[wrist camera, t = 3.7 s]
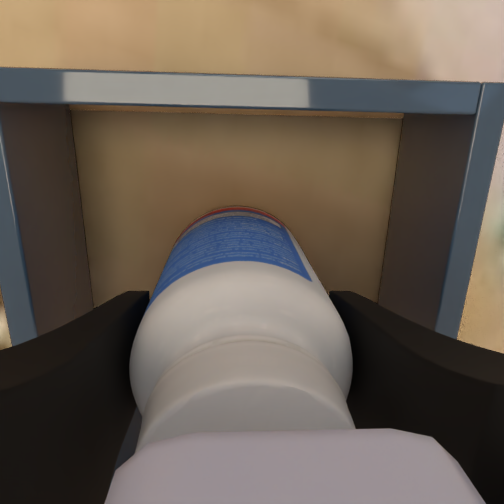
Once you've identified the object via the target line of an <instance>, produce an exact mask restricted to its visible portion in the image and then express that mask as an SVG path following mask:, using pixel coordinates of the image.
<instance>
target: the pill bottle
mask: <svg viewBox="0 0 504 504" xmlns="http://www.w3.org/2000/svg"><path fill="white" fill-rule="evenodd" d="M129 373H130V383H131V388H132V392H133V395H134V398H135V401H136V404H137V406H138V409H139V411H140V413H141V415H142V423H141V430H140V433H139V437H138V442H137V446H136V450H135V453H136V452H138V451H139V450H140V449H141V448H142V447H143V446H145V445H146V444H147V443H151V442H155V441H160V440H164V439H168V438H172V437H176V436H181V435H185V434H189V433H197V432H245V431H292V430H339V429H356V428H355V425H354V422H353V420H352V417H351V415H350V412H349V409H348V406H347V403H346V399H347V397H348V393H349V390H350V386H351V381H352V373H353V359H352V350H351V345H350V339H349V336H348V333H347V331H346V328H345V325H344V323H343V321H342V319H341V317H340V315H339V313H338V312H337V310H336V308H335V307H334V305H333V303H332V301H331V299H330V298H329V296H328V294H327V293H326V291H325V289H324V287H323V286H322V284H321V282H320V281H319V279H318V277H317V275H316V274H315V272H314V270H313V269H312V267H311V265H310V263H309V262H308V260H307V258H306V256H305V254H304V252H303V251H302V249H301V247H300V245H299V243H298V242H297V241H296V239H295V238H294V236H293V235H292V233H291V232H290V231H289V229H288V228H287V227H286V226H285V225H284V224H283V223H282V222H280V221H279V220H278V219H276V218H275V217H273V216H272V215H270V214H268V213H266V212H264V211H261V210H258V209H255V208H250V207H243V206H232V207H224V208H219V209H216V210H213V211H210V212H208V213H206V214H204V215H202V216H200V217H198V218H197V219H195V220H194V221H193V222H192V223H191V224H189V225H188V226H187V227H186V229H185V230H184V231H183V232H182V233H181V235H180V236H179V237H178V239H177V241H176V242H175V244H174V246H173V248H172V251H171V253H170V256H169V258H168V260H167V263H166V265H165V267H164V269H163V272H162V274H161V276H160V279H159V281H158V283H157V285H156V288H155V290H154V292H153V295H152V297H151V299H150V302H149V304H148V306H147V308H146V311H145V313H144V316H143V318H142V320H141V323H140V325H139V328H138V330H137V333H136V336H135V339H134V342H133V345H132V350H131V355H130V363H129Z"/></svg>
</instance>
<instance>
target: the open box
mask: <svg viewBox="0 0 504 504" xmlns="http://www.w3.org/2000/svg"><path fill="white" fill-rule="evenodd" d="M70 110H93V111H132V112H171V113H210V114H249V115H288V116H327V117H366V118H403V125H402V133H401V140H400V147H399V154H398V161H397V169H396V176H395V183H394V190H393V198H392V205H391V212H390V219H389V227H388V234H387V241H386V248H385V256H384V263H383V270H382V277H381V285H380V292H379V299H378V304H379V305H380V306H382V307H384V308H386V309H388V310H390V311H392V312H394V313H396V314H398V315H400V316H402V317H404V318H406V319H408V320H410V321H412V322H415V323H417V324H419V325H421V326H424V327H426V328H428V329H430V330H433V331H435V332H438V333H440V334H443V335H446V336H449V337H451V338H454V339H457V336H458V331H459V327H460V322H461V317H462V313H463V308H464V304H465V299H466V294H467V290H468V285H469V280H470V276H471V271H472V267H473V262H474V257H475V253H476V248H477V243H478V239H479V234H480V230H481V225H482V220H483V216H484V211H485V206H486V202H487V197H488V192H489V188H490V183H491V179H492V174H493V169H494V165H495V160H496V155H497V151H498V146H499V142H500V137H501V132H502V128H503V123H504V83H502V82H481V83H480V82H470V81H438V80H407V79H375V78H343V77H312V76H280V75H248V74H217V73H185V72H153V71H122V70H90V69H58V68H27V67H0V287H1V292H2V297H3V302H4V307H5V313H6V318H7V323H8V328H9V333H10V338H11V343H12V347H13V346H15V345H18V344H21V343H23V342H26V341H28V340H31V339H34V338H36V337H39V336H41V335H43V334H46V333H48V332H50V331H52V330H54V329H57V328H59V327H61V326H63V325H65V324H67V323H69V322H70V321H72V320H74V319H76V318H78V317H80V316H82V315H84V314H86V313H88V312H90V311H91V310H93V301H92V293H91V284H90V276H89V267H88V259H87V250H86V242H85V233H84V225H83V217H82V208H81V200H80V191H79V183H78V174H77V166H76V157H75V149H74V140H73V132H72V124H71V115H70ZM141 423H142V415H141V413H140V411H139V409H138V406H137V407H136V410H135V412H134V415H133V417H132V420H131V423H130V425H129V428H128V430H127V433H126V436H125V438H124V441H123V443H122V446H121V449H120V452H119V455H118V458H117V461H116V465H115V468H114V472H113V476H112V480H113V477H114V474H115V471H116V470H117V469H118V468H119V467H120V466H121V465H122V464H124V463H125V462H126V461H127V460H128V459H129V458H131V457H132V456H133V455H134V454H135V450H136V446H137V442H138V437H139V433H140V430H141ZM112 480H111V483H112ZM111 483H110V486H111ZM109 489H110V487H109ZM108 492H109V491H108ZM107 495H108V494H107Z"/></svg>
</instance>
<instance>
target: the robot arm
mask: <svg viewBox="0 0 504 504" xmlns="http://www.w3.org/2000/svg"><path fill="white" fill-rule="evenodd" d="M329 298H330V299H331V301H332V303H333V305H334V307H335V308H336V310H337V312H338V313H339V315H340V317H341V319H342V321H343V323H344V325H345V328H346V331H347V333H348V336H349V339H350V345H351V350H352V359H353V373H352V381H351V386H350V390H349V393H348V397H347V399H346V403H347V406H348V409H349V412H350V415H351V417H352V420H353V422H354V425H355V428H356V429H339V430H292V431H245V432H197V433H189V434H185V435H181V436H176V437H172V438H168V439H164V440H160V441H155V442H151V443H147V444H146V445H145V446H143V447H142V448H141V449H140V450H139V451H138V452H136V453H135V454H134V455H133V456H132V457H131V458H129V459H128V460H127V461H126V462H125V463H124V464H122V465H121V466H120V467H119V468H118V469H117V470H116V471H115V474H114V477H113V480H112V476H113V472H114V468H115V465H116V461H117V458H118V455H119V452H120V449H121V446H122V443H123V441H124V438H125V436H126V433H127V430H128V428H129V425H130V423H131V420H132V417H133V415H134V412H135V410H136V407H137V404H136V401H135V398H134V395H133V392H132V388H131V383H130V373H129V363H130V355H131V350H132V345H133V342H134V339H135V336H136V333H137V330H138V328H139V325H140V323H141V320H142V318H143V316H144V313H145V311H146V308H147V306H148V304H149V302H150V298H149V291H128V292H125V293H122V294H120V295H118V296H117V297H115V298H113V299H111V300H109V301H107V302H106V303H104V304H102V305H100V306H99V307H97V308H95V309H93V310H91V311H90V312H88V313H86V314H84V315H82V316H80V317H78V318H76V319H74V320H72V321H70V322H69V323H67V324H65V325H63V326H61V327H59V328H57V329H54V330H52V331H50V332H48V333H46V334H43V335H41V336H39V337H36V338H34V339H31V340H28V341H26V342H23V343H21V344H18V345H15V346H13V347H10V348H6V349H3V350H0V504H504V354H503V353H499V352H496V351H492V350H488V349H485V348H481V347H478V346H475V345H472V344H468V343H465V342H462V341H460V340H457V339H454V338H451V337H449V336H446V335H443V334H440V333H438V332H435V331H433V330H430V329H428V328H426V327H424V326H421V325H419V324H417V323H415V322H412V321H410V320H408V319H406V318H404V317H402V316H400V315H398V314H396V313H394V312H392V311H390V310H388V309H386V308H384V307H382V306H380V305H379V304H377V303H375V302H373V301H371V300H369V299H367V298H365V297H363V296H361V295H359V294H357V293H354V292H351V291H330V294H329ZM111 480H112V483H111ZM110 483H111V486H110ZM109 487H110V489H109ZM108 491H109V492H108ZM107 494H108V495H107Z"/></svg>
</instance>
